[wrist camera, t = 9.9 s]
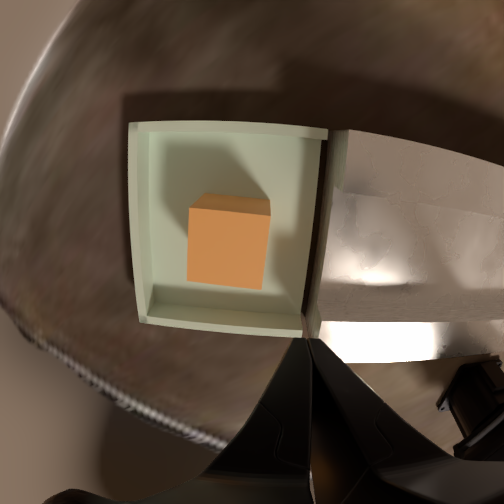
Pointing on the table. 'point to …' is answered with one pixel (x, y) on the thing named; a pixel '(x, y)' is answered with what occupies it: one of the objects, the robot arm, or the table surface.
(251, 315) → the tray
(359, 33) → the table surface
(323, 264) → the slot rail
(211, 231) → the peach toy brick
